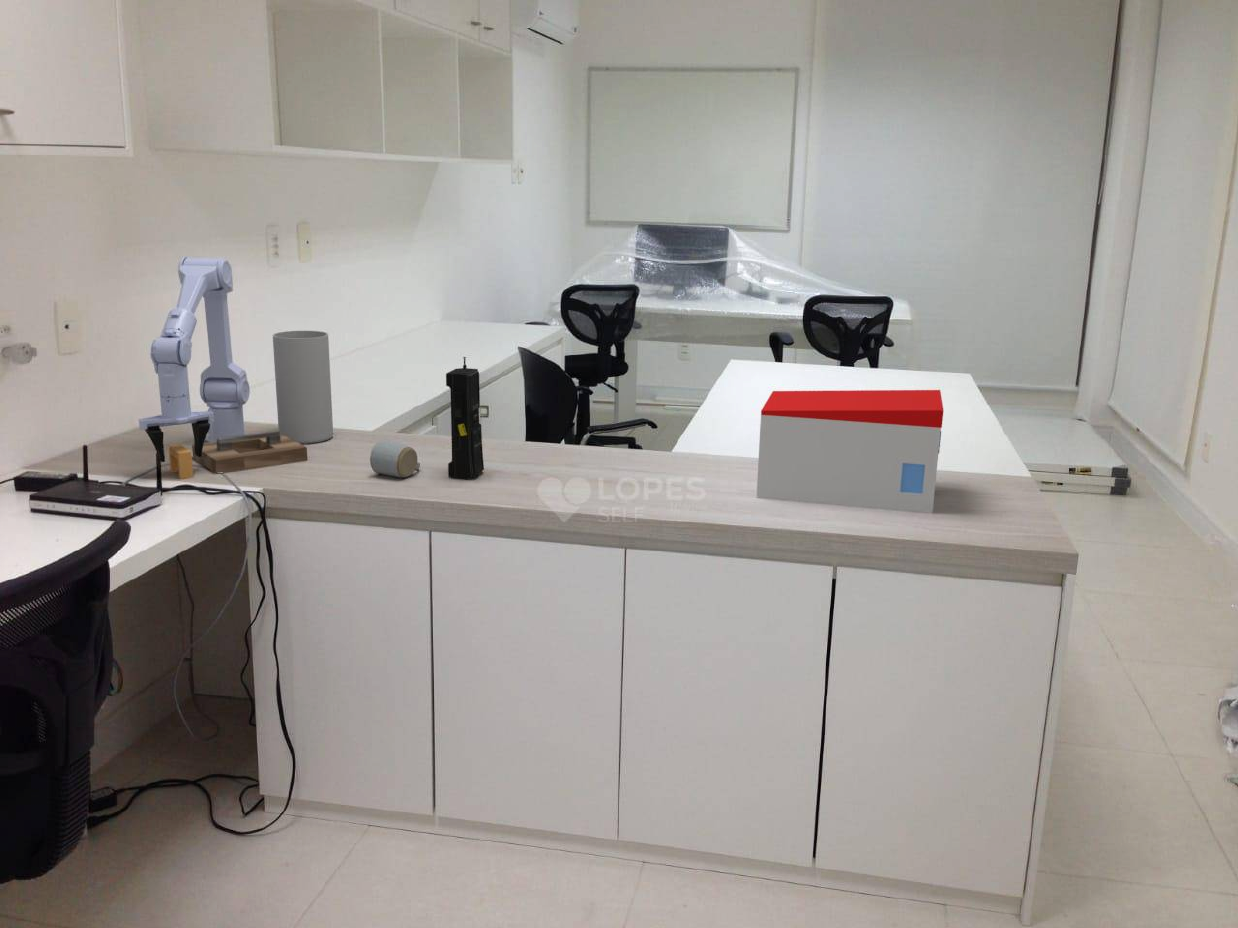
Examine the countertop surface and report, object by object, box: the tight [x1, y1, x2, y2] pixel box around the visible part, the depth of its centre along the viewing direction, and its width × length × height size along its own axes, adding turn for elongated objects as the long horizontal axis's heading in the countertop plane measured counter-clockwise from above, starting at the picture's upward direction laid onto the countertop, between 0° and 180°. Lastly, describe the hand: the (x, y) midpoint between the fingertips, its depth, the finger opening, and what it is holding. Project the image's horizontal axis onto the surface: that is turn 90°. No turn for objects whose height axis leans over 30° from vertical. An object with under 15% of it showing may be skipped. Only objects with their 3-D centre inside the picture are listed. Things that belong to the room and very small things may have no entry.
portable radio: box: [445, 356, 485, 481], centre depth 231 cm, size 8×6×25 cm
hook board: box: [191, 430, 309, 475], centre depth 243 cm, size 16×20×6 cm
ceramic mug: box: [369, 439, 421, 479], centre depth 234 cm, size 10×8×7 cm
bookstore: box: [755, 389, 944, 515], centre depth 226 cm, size 21×35×21 cm, turn 76°
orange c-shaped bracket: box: [167, 444, 194, 480], centre depth 231 cm, size 7×2×6 cm, turn 38°
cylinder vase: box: [272, 330, 334, 445], centre depth 260 cm, size 12×12×25 cm
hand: (180, 458), depth 231 cm, fingers open, 7 cm apart
